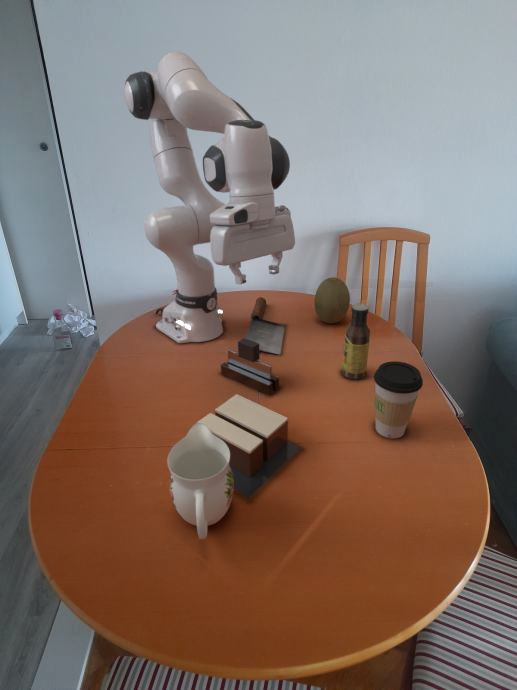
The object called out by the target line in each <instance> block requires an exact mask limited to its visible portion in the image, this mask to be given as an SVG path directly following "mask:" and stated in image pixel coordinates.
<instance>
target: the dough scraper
mask: <svg viewBox="0 0 517 690" xmlns="http://www.w3.org/2000/svg"><path fill="white" fill-rule="evenodd" d="M237 351H238V352H237ZM237 351H235V350H231V349H230V348H229V349H227V363H228V362H229V364H230V365H233V366H235V367H237V368H240V369H242V370H244V371H247V372H249V373H251V374H254V375H256V376H258V377H261V378H263V379H265V380H268V381H270V382H271V375H272V365H270V364H267V363H264V362H262V361H260V351H259V343H256V342H253V341H251V340H248V339H245V337H243V338H241V339H240V340H238V341H237Z"/></svg>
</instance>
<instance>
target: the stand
mask: <svg viewBox="0 0 517 690" xmlns="http://www.w3.org/2000/svg"><path fill="white" fill-rule="evenodd" d="M220 371H221V375H223V376H225V377H227V378H229V379H231V380H233V381H236V382H238V383H240V384H243V385H245V386H247V387H249V388H252V389H254V390H256V391H258V392H260V393H263V394H265V395H267V396H270V395H271V394H273V392H274V391H278V389H279V388H280V376H279V377H278V376H276V375H273V374H271V382H270V381H268V380H265V379H263V378H261V377H258V376H256V375H254V374H251V373H249V372H247V371H244V370H242V369H240V368H237V367H235V366H233V365H230V364H229V362H228V361H227V362H225V361H224V362H223V363H221V364H220Z"/></svg>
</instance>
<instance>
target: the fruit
mask: <svg viewBox="0 0 517 690" xmlns="http://www.w3.org/2000/svg"><path fill="white" fill-rule="evenodd" d="M313 301H314V303H313V305H314V310H315V313H316V316H317V318H318V319H319V320H320V321H322V322H323V323H326V324H330V325H331V324H337V323H339V322H342V320H343V319H344V318H345V317H346V316H347V313H348V311H349V308H350V305H351V304H350V303H351V295H350V291H349V289H348V286H347V284H346V283H345V282H344V281H343V280H342V279H340V278H338V277H328V278H326V279H324V280H323V281H322V282H321V283H320V284H319V285H318V287H317V288H316V291H315V295H314V300H313Z"/></svg>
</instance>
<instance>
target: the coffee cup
mask: <svg viewBox="0 0 517 690" xmlns="http://www.w3.org/2000/svg"><path fill="white" fill-rule="evenodd" d="M373 381H374V383H375V386H374V417H375V430H376V432H377V433H378V434H379V435H380V436H382V437H385V438H388V439H399V438H401V437H403V435H405V432H406V430H407V429H406V428H407V427H408V426H407V425H408V423H409V422H410V419H411V416H412V413H413V410H414V407H415V404H416V402H417V399H418V395H419V391H421V389H422V388H423V385H424V380H423V377H422V374H421V371H420V370H419V368H417V367H416V366H415V365H412V364H410V363H407V362H403V361H398V360H396V361H394V360H393V361H386V362H383V363H381V364H380V365H379V366H378V368H377V369H376V370H375V371H374V374H373Z"/></svg>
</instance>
